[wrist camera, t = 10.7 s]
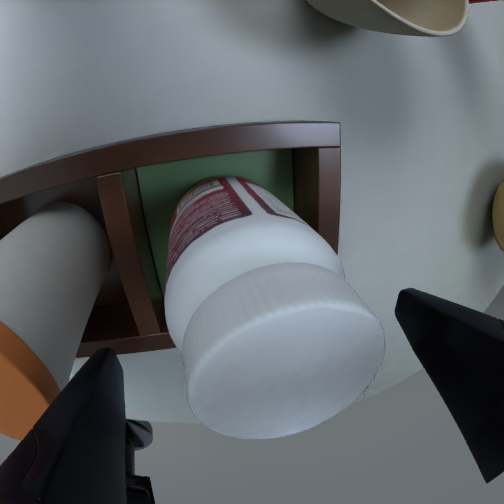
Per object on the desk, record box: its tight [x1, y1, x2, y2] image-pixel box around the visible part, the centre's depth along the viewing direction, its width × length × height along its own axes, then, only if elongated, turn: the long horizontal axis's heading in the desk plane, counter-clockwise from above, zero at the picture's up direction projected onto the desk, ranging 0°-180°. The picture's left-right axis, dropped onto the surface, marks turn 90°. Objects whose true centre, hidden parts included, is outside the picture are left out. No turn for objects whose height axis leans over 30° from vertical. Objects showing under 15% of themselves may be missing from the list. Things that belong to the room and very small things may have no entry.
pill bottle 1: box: [0, 202, 110, 441], centre depth 10 cm, size 6×6×11 cm
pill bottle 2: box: [164, 175, 385, 440], centre depth 11 cm, size 6×6×11 cm
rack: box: [0, 121, 341, 358], centre depth 14 cm, size 11×21×4 cm, turn 94°
